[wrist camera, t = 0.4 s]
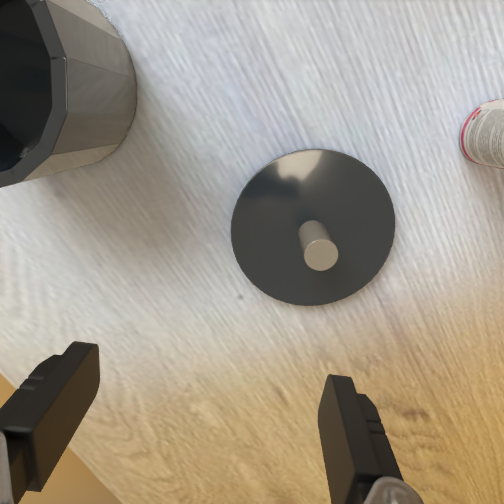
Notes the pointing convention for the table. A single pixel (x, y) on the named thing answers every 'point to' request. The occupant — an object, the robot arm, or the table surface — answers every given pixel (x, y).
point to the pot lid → (312, 227)
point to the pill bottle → (484, 134)
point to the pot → (60, 88)
